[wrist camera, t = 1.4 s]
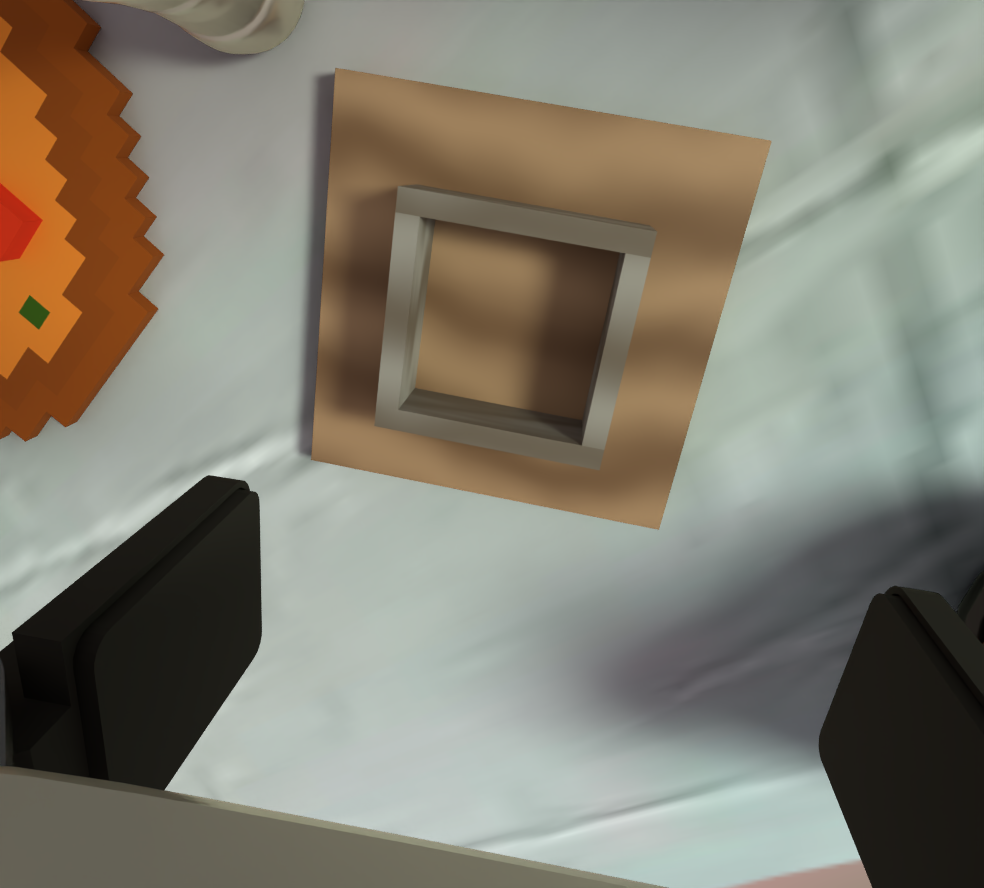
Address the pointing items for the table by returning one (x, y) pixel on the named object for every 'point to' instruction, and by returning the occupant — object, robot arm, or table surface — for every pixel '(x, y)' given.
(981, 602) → the amphora vase
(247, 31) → the plastic bottle
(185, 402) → the table surface
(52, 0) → the pizza
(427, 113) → the collar board
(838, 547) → the table surface
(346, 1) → the table surface
